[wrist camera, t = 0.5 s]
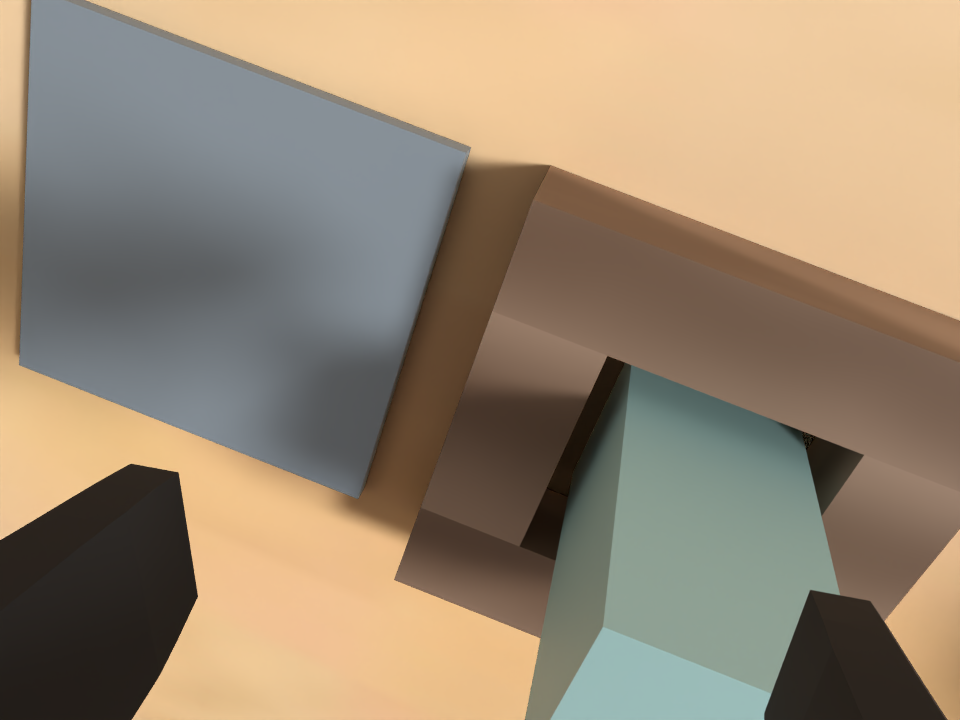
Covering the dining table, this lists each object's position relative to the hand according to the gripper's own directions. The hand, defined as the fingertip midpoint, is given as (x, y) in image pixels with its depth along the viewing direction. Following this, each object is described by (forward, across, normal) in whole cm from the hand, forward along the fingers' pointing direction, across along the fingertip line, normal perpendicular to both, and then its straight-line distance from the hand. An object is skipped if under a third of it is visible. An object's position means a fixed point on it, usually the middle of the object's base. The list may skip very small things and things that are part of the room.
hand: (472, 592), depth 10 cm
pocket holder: (+10, -3, +5) cm, 12 cm away
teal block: (+10, -3, +5) cm, 12 cm away
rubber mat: (+11, +8, +2) cm, 14 cm away
